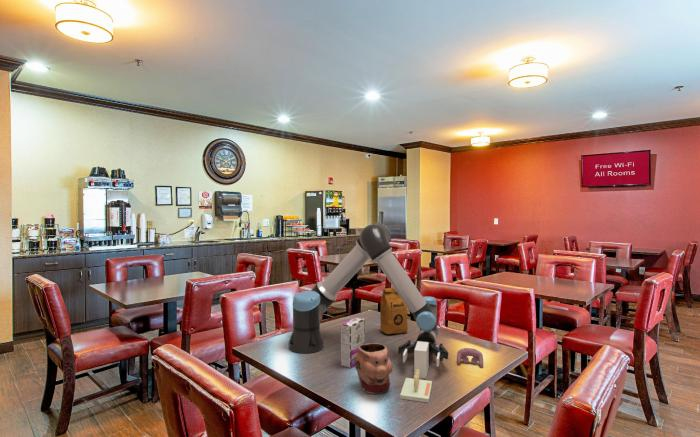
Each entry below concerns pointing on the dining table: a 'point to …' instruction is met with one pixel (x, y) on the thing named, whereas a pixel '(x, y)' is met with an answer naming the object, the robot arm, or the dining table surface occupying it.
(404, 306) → the coffee package
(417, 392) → the board
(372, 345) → the decorative planter
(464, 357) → the video game controller
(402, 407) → the dining table surface
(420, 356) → the block
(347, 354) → the candy bar box
